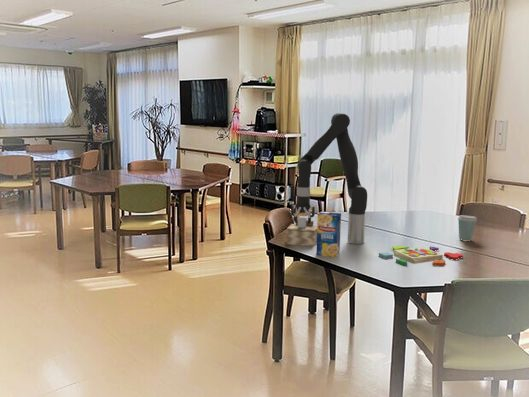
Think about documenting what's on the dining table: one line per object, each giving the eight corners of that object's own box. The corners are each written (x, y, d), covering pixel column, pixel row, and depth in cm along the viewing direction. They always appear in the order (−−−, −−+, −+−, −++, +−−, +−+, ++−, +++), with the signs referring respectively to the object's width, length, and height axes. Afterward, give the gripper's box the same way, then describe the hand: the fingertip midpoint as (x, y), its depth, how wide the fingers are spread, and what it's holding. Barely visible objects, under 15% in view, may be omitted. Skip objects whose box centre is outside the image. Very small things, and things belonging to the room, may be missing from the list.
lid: (318, 227, 288) (318, 220, 287) (314, 231, 277) (314, 225, 276) (291, 225, 292) (291, 218, 292) (286, 229, 281) (286, 223, 280)
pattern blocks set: (423, 272, 237) (424, 266, 236) (369, 255, 263) (370, 250, 263) (468, 259, 259) (468, 253, 259) (414, 245, 286) (414, 239, 285)
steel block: (307, 226, 285) (307, 216, 284) (305, 228, 281) (305, 218, 280) (299, 226, 286) (299, 215, 285) (297, 227, 282) (298, 217, 281)
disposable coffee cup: (457, 237, 303) (459, 213, 301) (476, 239, 298) (478, 215, 295) (454, 241, 294) (456, 216, 292) (473, 243, 289) (476, 218, 286)
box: (318, 241, 289) (318, 227, 288) (314, 246, 278) (314, 232, 277) (291, 238, 294) (291, 225, 292) (286, 243, 282) (286, 230, 281)
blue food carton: (319, 251, 268) (321, 211, 264) (339, 254, 264) (341, 213, 260) (316, 254, 262) (317, 214, 258) (336, 257, 258) (338, 215, 254)
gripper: (289, 195, 279) (288, 224, 281) (314, 196, 274) (313, 226, 277) (292, 193, 286) (291, 221, 289) (317, 194, 282) (316, 223, 284)
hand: (302, 223), depth 283 cm, fingers open, 6 cm apart
